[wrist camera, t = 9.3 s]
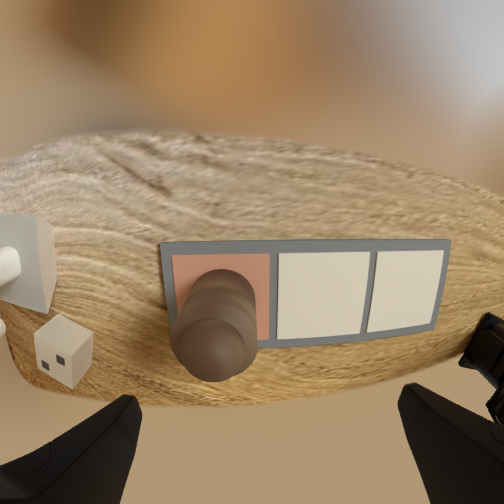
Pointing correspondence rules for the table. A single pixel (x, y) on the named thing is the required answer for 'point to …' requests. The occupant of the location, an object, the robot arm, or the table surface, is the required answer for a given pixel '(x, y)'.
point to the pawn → (217, 327)
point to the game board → (321, 285)
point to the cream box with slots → (64, 350)
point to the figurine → (26, 262)
